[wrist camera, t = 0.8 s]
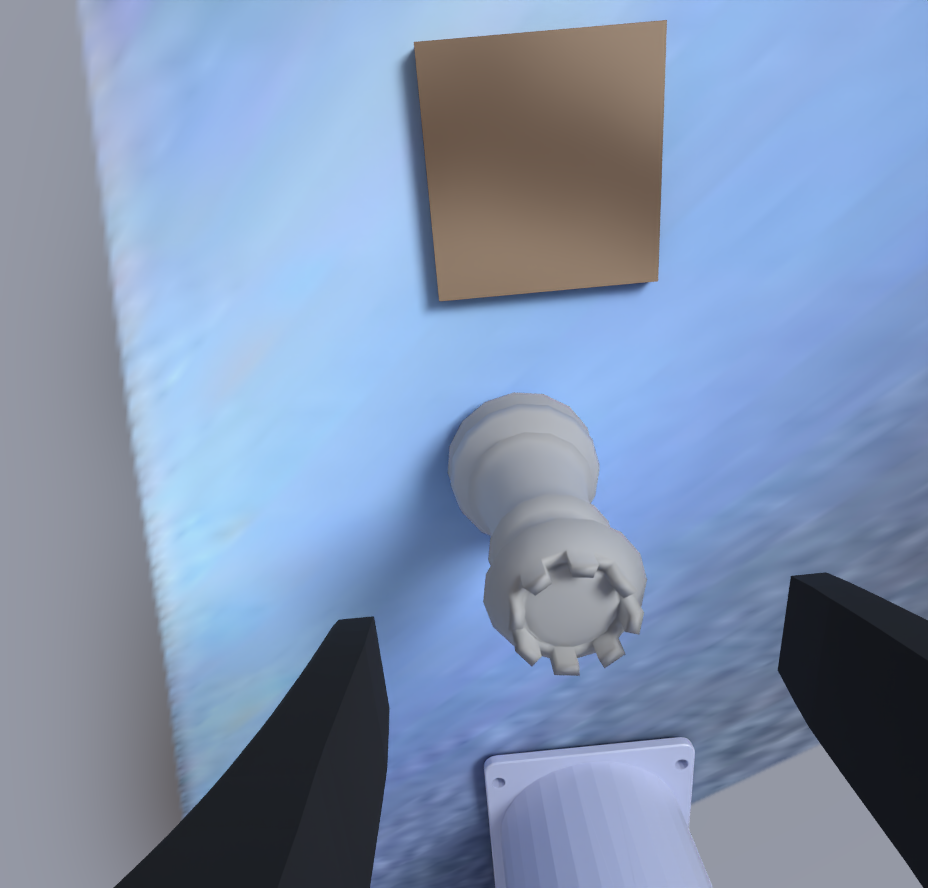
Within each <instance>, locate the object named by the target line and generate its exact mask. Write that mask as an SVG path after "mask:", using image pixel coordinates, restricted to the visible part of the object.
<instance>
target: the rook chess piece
mask: <svg viewBox="0 0 928 888" xmlns="http://www.w3.org/2000/svg"><path fill="white" fill-rule="evenodd" d="M448 475H449V478H450V480H451V487H452V490H453V492H454V495H455V498H456V500H457V503H458V505H459V508H460V510H461V511H462V513H463V514H464V515H465V516H466V517H467V518H468V519H469V520H470V521H471V522H472V523H473V524H474V525H475V526H476V527H477V528H478V529H479V530H480V531H481V532H482V533H485V534H487V535H490V536H491V538H490V547H489V557H488V560H489V563H490V565H491V567H490V568H489V570H488V572H487V573H486V579H485V589H484V600H483V602H484V605H485V607H486V610H487V613H488V615H489V618H490V620H491V623H492V625H493V627H494V628H495V629H496V630H497V631H498V632H499V633H500V634H501V635H502V636H504V637H505V638H506V639H507V640H508V641H509V642H510V643H511V644H512V645H514V646H515V651H516V652H517V653H518V654H519V655H520V656H521V657H522V658H523V659H524V660H525V661H526V662H527V663H529V664H530V665H531V666H533V665H534V664H535V663H536V662H537V661H538V660H539V659H540V658H541V657H542V656H543V657H547V658H550V660H551V664H552V668H553V672H554V675H576V676H580V673H579V663H578V660H577V658H579V657H583V656H586V655H589V654H593V653H596V654H597V656H598V659H599V660H600V662H601V663H602V665H603V667H604V668H606V667H607V666H609V665H610V664H611V663H613V662H614V661H616V660H617V659H619V658H620V657H622V656H623V655H625V652H624V650H623V647H622V645H621V643H620V641H619V637H620V635H621V634H622V633H623V632H624V631H625V632H629V633H634V634H639V633H640V629H641V624H642V619H643V615H644V612H643V610H642V608H641V605H642V601H643V596H644V591H645V586H646V581H647V578H646V574H645V571H644V567H643V563H642V559H641V555H640V553H639V552H638V551H637V550H636V548H635V547H634V546H633V545H632V544H631V543H630V542H629V541H628V539H627V538H626V537H625V536H624V535H623V534H622V533H621V532H619V531H617V530H615V529H613V528H610V525H609V522H608V521H607V519H606V518H605V517H604V516H603V515H602V514H601V513H600V512H599V511H598V509H597V508H596V507H595V506H594V505H592V504H591V502H592V500H593V499H594V497H595V493H596V487H597V481H598V475H599V462H598V458H597V454H596V451H595V447H594V443H593V440H592V438H591V437H590V436H589V432H588V429H587V427H586V426H585V424H584V423H583V422H582V421H581V420H580V418H579V417H578V416H577V415H576V414H575V413H574V411H573V410H572V409H571V408H570V407H569V406H567V405H565V404H563V403H561V402H559V401H557V400H555V399H553V398H550V397H548V396H546V395H544V394H531V393H511V394H508V395H505V396H502V397H499V398H496V399H493V400H490V401H487V402H485V403H483V404H482V405H481V406H480V407H479V408H478V409H476V410H475V411H474V412H473V413H472V414H470V415H469V416H468V417H467V418H466V419H464V420H463V421H462V423H461V425H460V427H459V429H458V431H457V433H456V435H455V436H454V438H453V440H452V442H451V444H450V446H449V461H448Z"/></svg>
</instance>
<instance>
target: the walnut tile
mask: <svg viewBox="0 0 928 888" xmlns="http://www.w3.org/2000/svg"><path fill="white" fill-rule="evenodd" d="M666 30H667V20H662V21H651V22H639V23H628V24H616V25H605V26H593V27H582V28H570V29H559V30H547V31H536V32H524V33H513V34H501V35H490V36H478V37H467V38H455V39H444V40H432V41H421V42H414V49H415V59H416V70H417V80H418V90H419V100H420V110H421V121H422V131H423V141H424V151H425V161H426V172H427V182H428V192H429V202H430V213H431V223H432V233H433V243H434V253H435V264H436V274H437V284H438V294H439V301H449V300H460V299H471V298H481V297H492V296H503V295H514V294H525V293H535V292H546V291H557V290H568V289H579V288H589V287H600V286H611V285H622V284H633V283H644V282H654V281H658V267H659V237H660V208H661V178H662V148H663V119H664V89H665V59H666Z"/></svg>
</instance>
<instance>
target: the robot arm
mask: <svg viewBox="0 0 928 888" xmlns="http://www.w3.org/2000/svg"><path fill="white" fill-rule="evenodd" d="M778 672H779V673H780V675H781V677H782V679H783V681H784V683H785V685H786V687H787V689H788V691H789V692H790V694H791V696H792V698H793V700H794V702H795V704H796V705H797V707H798V709H799V711H800V712H801V714H802V716H803V718H804V719H805V721H806V723H807V725H808V726H809V728H810V729H811V731H812V732H813V734H814V735H815V736H816V738H817V739H818V741H819V742H820V744H821V745H822V746H823V748H824V749H825V751H826V752H827V753H828V755H829V756H830V757H831V759H832V760H833V762H834V763H835V765H836V766H837V767H838V769H839V770H840V772H841V773H842V774H843V776H844V777H845V779H846V780H847V781H848V783H849V784H850V786H851V787H852V788H853V790H854V791H855V792H856V794H857V795H858V797H859V798H860V799H861V801H862V802H863V803H864V805H865V806H866V808H867V809H868V810H869V811H870V813H871V814H872V816H873V817H874V818H875V820H876V821H877V823H878V824H879V825H880V827H881V828H882V830H883V831H884V832H885V834H886V835H887V836H888V838H889V839H890V841H891V842H892V843H893V845H894V846H895V848H896V849H897V850H898V851H899V853H900V854H901V856H902V857H903V859H904V860H905V861H906V863H907V864H908V866H909V867H910V869H911V870H912V872H913V873H914V875H915V876H916V878H917V879H918V880H919V882H920V883H921V885H922V886H923V888H928V620H926V619H924V618H922V617H920V616H918V615H916V614H914V613H912V612H910V611H908V610H905V609H903V608H901V607H899V606H897V605H895V604H893V603H891V602H889V601H887V600H885V599H883V598H881V597H879V596H877V595H875V594H873V593H871V592H869V591H867V590H865V589H862V588H860V587H858V586H856V585H854V584H852V583H850V582H847V581H845V580H843V579H841V578H838V577H836V576H833V575H831V574H829V573H816V574H806V575H796V576H791V579H790V587H789V594H788V601H787V608H786V615H785V622H784V629H783V637H782V644H781V651H780V658H779V665H778ZM388 736H389V703H388V697H387V691H386V685H385V679H384V673H383V667H382V661H381V656H380V650H379V644H378V638H377V632H376V626H375V620H374V616H373V617H363V618H352V619H342V620H338V621H337V622H336V623H335V624H334V625H333V627H332V628H331V630H330V631H329V633H328V634H327V636H326V637H325V639H324V641H323V642H322V644H321V645H320V647H319V648H318V650H317V651H316V653H315V654H314V656H313V657H312V659H311V660H310V662H309V663H308V665H307V666H306V667H305V669H304V670H303V672H302V673H301V675H300V676H299V678H298V679H297V680H296V682H295V683H294V685H293V686H292V687H291V689H290V690H289V692H288V693H287V694H286V696H285V697H284V698H283V700H282V701H281V703H280V704H279V705H278V707H277V708H276V709H275V711H274V712H273V713H272V715H271V716H270V717H269V719H268V720H267V721H266V723H265V724H264V725H263V727H262V728H261V729H260V730H259V732H258V733H257V734H256V735H255V736H254V738H253V739H252V740H251V741H250V743H249V744H248V745H247V746H246V748H245V749H244V750H243V751H242V753H241V754H240V755H239V756H238V758H237V759H236V760H235V761H234V763H233V764H232V765H231V766H230V767H229V769H228V770H227V771H226V772H225V773H224V774H223V776H222V777H221V778H220V779H219V780H218V781H217V782H216V784H215V785H214V786H213V787H212V788H211V789H210V790H209V792H208V793H207V794H206V795H205V796H204V797H203V798H202V799H201V801H200V802H199V803H198V804H197V805H196V806H195V807H194V808H193V809H192V810H191V811H190V812H189V813H188V814H187V816H186V817H185V818H184V819H183V820H182V821H181V822H180V823H179V824H178V825H177V826H176V827H175V828H174V830H172V831H171V833H170V834H169V835H168V836H167V837H166V838H165V839H164V840H163V841H161V843H160V844H158V846H157V847H155V848H154V849H153V850H152V851H151V853H149V854H148V856H146V857H145V858H144V859H143V860H142V861H141V862H140V863H139V864H138V865H137V866H136V867H135V868H134V869H133V870H132V871H131V872H130V873H129V874H128V875H126V877H124V878H123V879H122V880H121V881H120V882H119V883H118V884H117V885H116V886H115V887H114V888H370V883H371V876H372V869H373V863H374V856H375V849H376V842H377V836H378V829H379V822H380V815H381V808H382V801H383V794H384V788H385V780H386V773H387V760H388ZM694 757H695V751H694V747H693V745H692V743H691V742H690V741H689V739H687V738H684V737H676V738H666V739H656V740H646V741H636V742H626V743H616V744H606V745H596V746H586V747H576V748H565V749H555V750H545V751H535V752H525V753H515V754H505V755H496V756H492V757H490V758H488V759H487V760H486V761H485V763H484V774H485V785H486V795H487V805H488V816H489V826H490V836H491V847H492V857H493V868H494V878H495V888H713V886H712V884H711V882H710V879H709V877H708V874H707V872H706V870H705V867H704V865H703V862H702V860H701V857H700V855H699V853H698V850H697V848H696V845H695V843H694V840H693V838H692V836H691V833H690V831H689V821H690V808H691V795H692V783H693V770H694ZM496 778H499V779H496Z"/></svg>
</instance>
